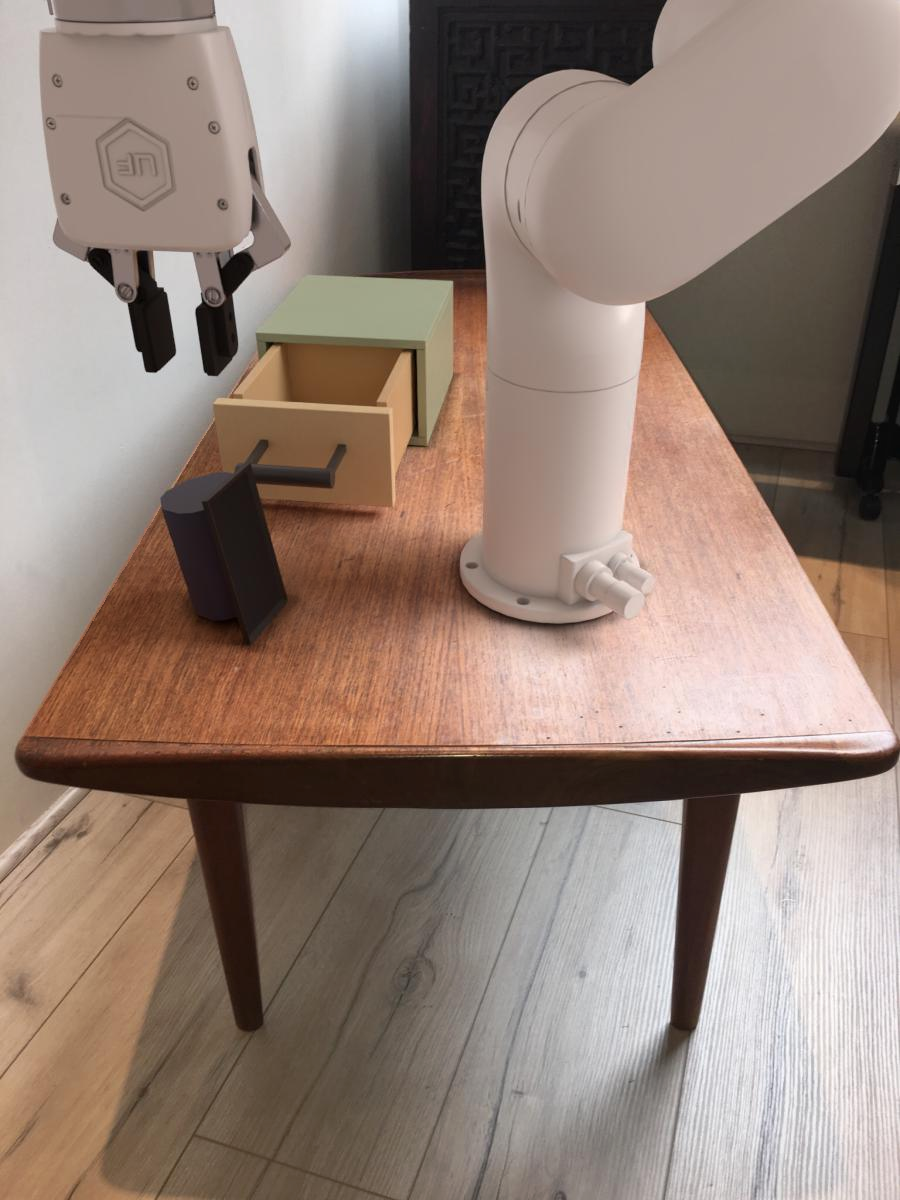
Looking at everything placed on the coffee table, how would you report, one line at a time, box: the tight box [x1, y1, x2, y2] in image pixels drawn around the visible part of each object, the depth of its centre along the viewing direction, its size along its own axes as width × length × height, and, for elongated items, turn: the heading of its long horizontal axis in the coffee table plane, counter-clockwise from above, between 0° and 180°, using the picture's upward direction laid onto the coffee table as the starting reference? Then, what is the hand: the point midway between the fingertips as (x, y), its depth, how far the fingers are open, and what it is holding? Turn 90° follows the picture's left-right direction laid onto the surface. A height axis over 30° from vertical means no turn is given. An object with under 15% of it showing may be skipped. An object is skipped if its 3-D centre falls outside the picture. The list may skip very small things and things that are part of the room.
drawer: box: [212, 342, 417, 508], centre depth 79 cm, size 21×13×8 cm, turn 172°
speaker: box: [159, 463, 289, 646], centre depth 65 cm, size 8×6×10 cm
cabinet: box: [255, 274, 454, 447], centre depth 92 cm, size 17×15×10 cm
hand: (190, 363), depth 57 cm, fingers closed
